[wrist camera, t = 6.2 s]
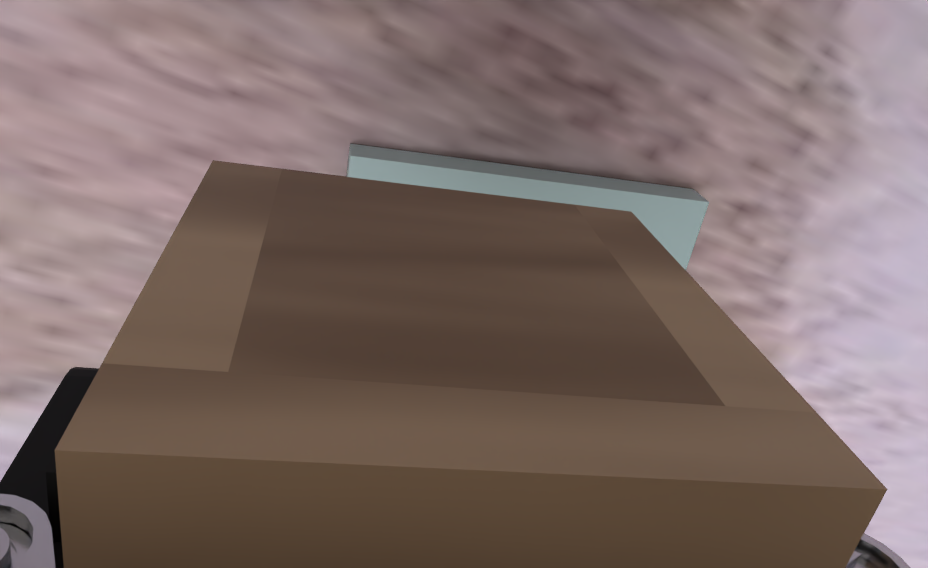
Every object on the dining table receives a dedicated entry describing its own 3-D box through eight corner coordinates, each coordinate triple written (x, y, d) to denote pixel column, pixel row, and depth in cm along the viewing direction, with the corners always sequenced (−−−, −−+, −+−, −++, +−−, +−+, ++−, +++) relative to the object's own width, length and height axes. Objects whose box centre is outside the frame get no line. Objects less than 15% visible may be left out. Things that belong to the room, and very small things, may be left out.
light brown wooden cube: (212, 160, 10) (16, 521, 4) (631, 211, 11) (940, 549, 5) (202, 503, 12) (72, 1026, 7) (544, 515, 14) (687, 969, 8)
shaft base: (350, 143, 28) (351, 201, 22) (693, 189, 30) (766, 249, 25) (315, 442, 34) (310, 543, 28) (604, 456, 37) (648, 551, 31)
